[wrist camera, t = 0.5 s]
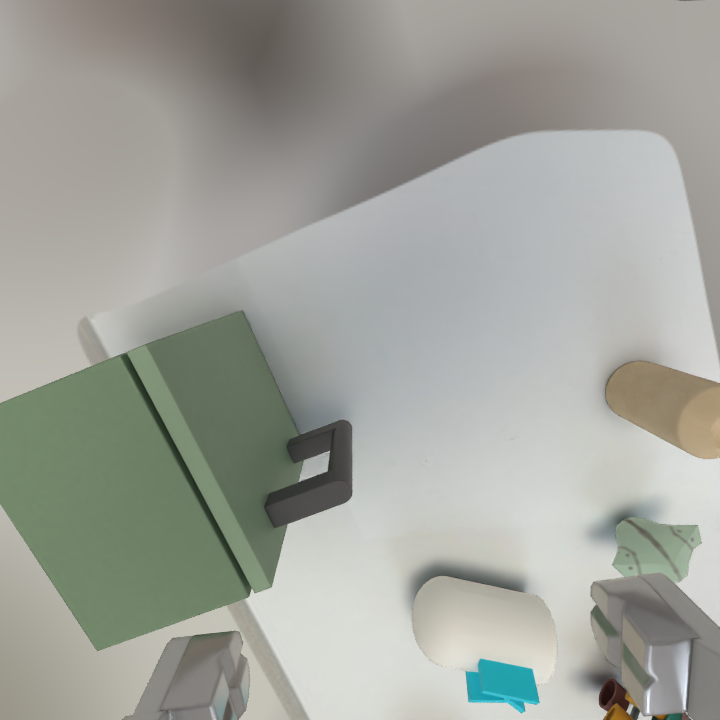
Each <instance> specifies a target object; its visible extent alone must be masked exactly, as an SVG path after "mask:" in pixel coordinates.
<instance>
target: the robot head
mask: <svg viewBox="0 0 720 720" xmlns="http://www.w3.org/2000/svg"><path fill="white" fill-rule="evenodd" d="M615 537H616V541H617V544H618V551H617V554H616V556H615V559H614V561H613V564H612V566H614V567H615V568H616V569H617V570H618V571H619V572H620V573H621V574H622V575H623V576H624V577H629V576H637V575H644V574H650V573H657V572H660V573H662V574H664V575H666V576H667V577H668V578H669V579H670V580H671V581H672V582H673V583H678V582H680V581H682V580H683V579H684V578H685V577H686V576H687V575H688V568H689V561H690V558H691V555H692V552H693V549H694V548H695V547H697V546H698V545H700V544H701V543H702V542H701V538H700V533H699V528H698V525H666V524H658V523H655V522H653V521H650V520H648V519H645V518H639V517H631V518H627V519H623V520H622V521H621V522H620V523H618V524H617V525H616V534H615Z"/></svg>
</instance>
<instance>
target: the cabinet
mask: <svg viewBox="0 0 720 720" xmlns="http://www.w3.org/2000/svg"><path fill="white" fill-rule="evenodd" d="M0 504H1V506H2V507H3V509H4V510H5V512H6V513H7V515H8V517H9V518H10V519H11V521H12V523H13V524H14V526H15V527H16V529H17V530H18V531H19V533H20V535H21V536H22V538H23V539H24V541H25V542H26V544H27V545H28V547H29V548H30V550H31V551H32V553H33V554H34V556H35V557H36V559H37V560H38V562H39V564H40V565H41V567H42V568H43V570H44V571H45V573H46V574H47V576H48V577H49V579H50V580H51V582H52V583H53V585H54V586H55V588H56V589H57V591H58V592H59V594H60V595H61V597H62V598H63V600H64V602H65V603H66V605H67V606H68V608H69V609H70V611H71V612H72V614H73V615H74V617H75V618H76V620H77V621H78V623H79V624H80V626H81V627H82V629H83V630H84V632H85V633H86V635H87V636H88V638H89V639H90V641H91V642H92V644H93V646H94V647H95V649H96V650H97V651H99V650H102V649H105V648H107V647H110V646H113V645H116V644H119V643H122V642H124V641H127V640H130V639H133V638H136V637H138V636H141V635H144V634H147V633H149V632H152V631H155V630H158V629H161V628H163V627H166V626H169V625H172V624H175V623H178V622H180V621H183V620H186V619H189V618H192V617H195V616H197V615H200V614H203V613H205V612H208V611H211V610H214V609H217V608H220V607H222V606H225V605H228V604H231V603H234V602H237V601H239V600H242V599H245V598H248V597H249V595H250V592H251V589H252V587H251V585H250V584H249V582H248V580H247V578H246V576H245V574H244V572H243V570H242V568H241V567H240V565H239V563H238V561H237V559H236V557H235V555H234V553H233V552H232V550H231V548H230V546H229V544H228V542H227V540H226V538H225V537H224V535H223V533H222V531H221V529H220V527H219V525H218V523H217V522H216V520H215V518H214V516H213V514H212V512H211V510H210V508H209V506H208V505H207V503H206V501H205V499H204V497H203V495H202V493H201V491H200V490H199V488H198V486H197V484H196V482H195V480H194V478H193V476H192V475H191V473H190V471H189V469H188V467H187V465H186V463H185V461H184V459H183V458H182V456H181V454H180V452H179V450H178V448H177V446H176V444H175V443H174V441H173V439H172V437H171V435H170V433H169V431H168V429H167V428H166V426H165V424H164V422H163V420H162V418H161V416H160V414H159V412H158V411H157V409H156V407H155V405H154V403H153V401H152V399H151V397H150V396H149V394H148V392H147V390H146V388H145V386H144V384H143V382H142V381H141V379H140V377H139V375H138V373H137V371H136V369H135V367H134V366H133V364H132V362H131V360H130V358H129V356H128V354H127V352H126V353H124V354H121V355H118V356H116V357H113V358H111V359H108V360H106V361H103V362H101V363H98V364H96V365H93V366H91V367H89V368H86V369H84V370H81V371H79V372H76V373H74V374H71V375H69V376H66V377H64V378H61V379H59V380H56V381H54V382H51V383H49V384H47V385H44V386H42V387H39V388H37V389H35V390H32V391H29V392H27V393H24V394H22V395H19V396H17V397H14V398H12V399H9V400H7V401H4V402H2V403H0Z"/></svg>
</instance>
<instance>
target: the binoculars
mask: <svg viewBox="0 0 720 720" xmlns="http://www.w3.org/2000/svg"><path fill="white" fill-rule="evenodd" d="M621 674H622V671H621ZM629 702H630V703H632V704H633V705H634V706H633V708H632V711H631V714H630V715H629V714H628V713H627V712H626V711H627V709H628V706H629ZM599 705H600V707H601V708H603V709H604V710H606V711H608V713H607V714H606V716H605V717H604V719H603V720H637V719H638V715H639V713H640V710H639V708H638V707H637V705H636V704H635V702H634V701H633V699H632V698H631V696H630V695H629V693H628V692H627V691H626V690H625V689H624V688H623V687H622V686H621V685H620V684H619V683H618V682H617V681H616V680H615V679H613V678H610V679H608V680H607V681H606V682H605V683H604V685H603V687H602V689H601V691H600V695H599ZM652 720H691V719H690V718H689V717H688V715H687V714H686V713H675V714H665V715H655V716H652Z"/></svg>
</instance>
